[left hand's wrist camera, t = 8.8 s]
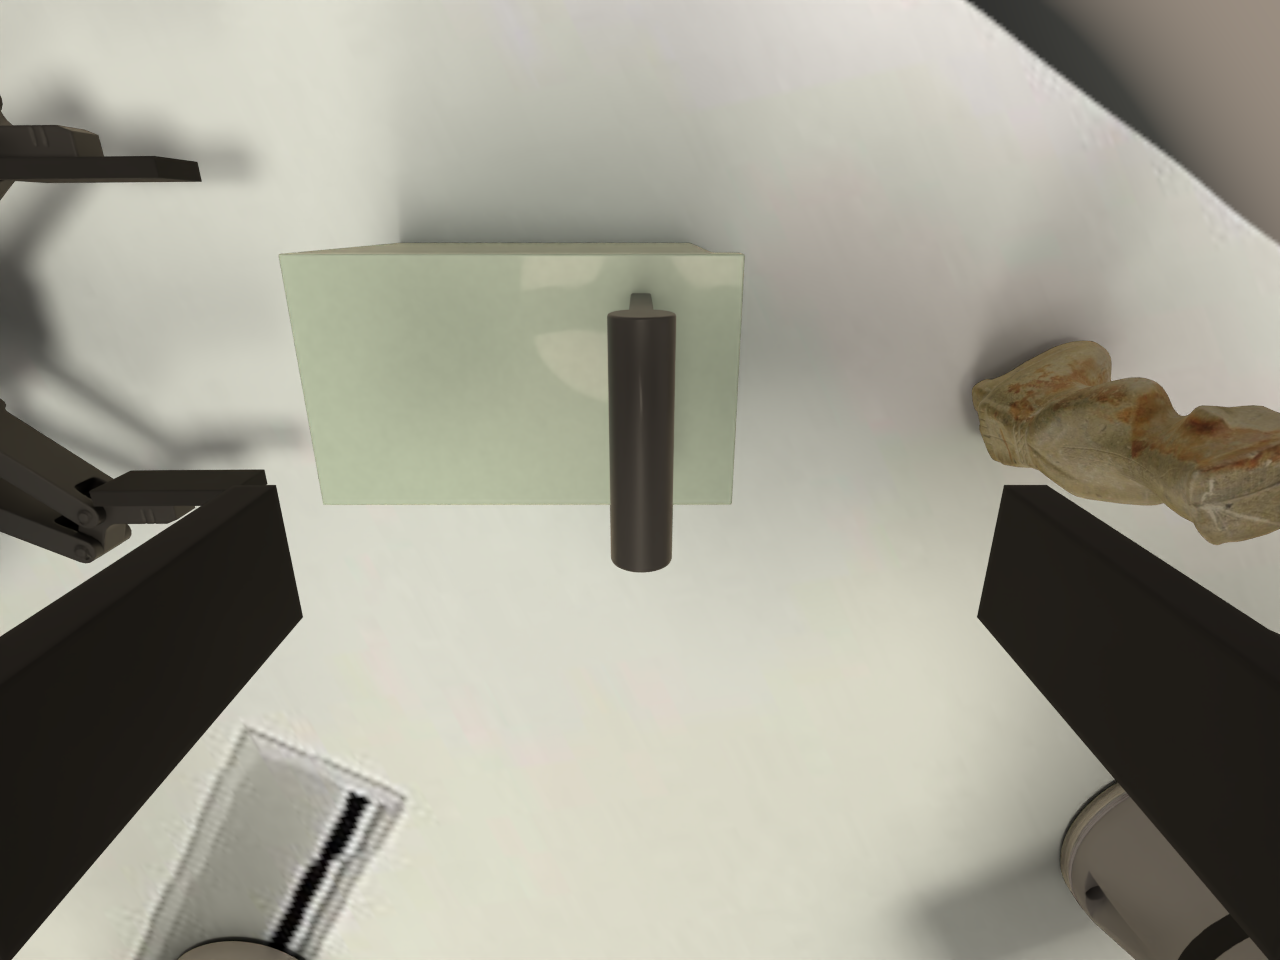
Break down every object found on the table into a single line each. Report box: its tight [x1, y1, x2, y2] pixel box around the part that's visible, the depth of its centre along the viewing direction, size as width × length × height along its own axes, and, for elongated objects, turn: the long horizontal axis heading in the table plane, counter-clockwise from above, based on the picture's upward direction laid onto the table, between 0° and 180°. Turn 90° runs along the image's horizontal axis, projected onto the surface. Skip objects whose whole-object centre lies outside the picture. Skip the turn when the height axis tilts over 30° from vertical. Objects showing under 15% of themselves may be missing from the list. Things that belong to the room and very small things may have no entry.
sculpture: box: [972, 341, 1280, 545], centre depth 30 cm, size 6×7×15 cm
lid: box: [279, 253, 745, 572], centre depth 21 cm, size 16×9×9 cm, turn 90°
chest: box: [298, 243, 712, 253], centre depth 31 cm, size 15×9×11 cm, turn 90°
